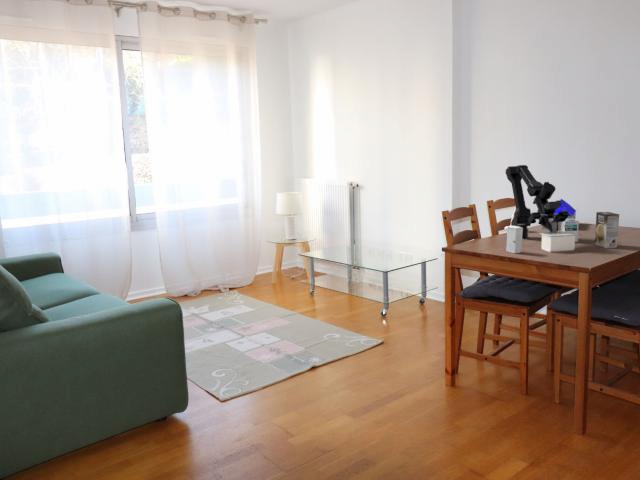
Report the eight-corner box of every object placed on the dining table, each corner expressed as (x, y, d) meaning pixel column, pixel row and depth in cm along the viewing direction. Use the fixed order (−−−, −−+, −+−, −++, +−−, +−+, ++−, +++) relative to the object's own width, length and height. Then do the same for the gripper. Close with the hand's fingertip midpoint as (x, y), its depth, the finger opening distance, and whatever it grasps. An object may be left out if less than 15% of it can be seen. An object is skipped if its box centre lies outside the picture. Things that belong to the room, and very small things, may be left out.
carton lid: (539, 233, 273) (540, 222, 272) (563, 232, 275) (564, 221, 274) (549, 236, 265) (549, 225, 264) (573, 235, 266) (574, 223, 265)
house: (547, 223, 351) (548, 197, 349) (575, 224, 344) (576, 198, 341) (541, 229, 330) (542, 202, 327) (571, 230, 322) (572, 202, 320)
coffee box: (594, 244, 279) (595, 212, 276) (606, 244, 279) (608, 211, 276) (604, 248, 270) (606, 214, 267) (617, 247, 270) (619, 213, 267)
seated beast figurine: (503, 230, 330) (503, 209, 328) (517, 229, 331) (518, 208, 328) (510, 232, 321) (510, 211, 318) (525, 232, 321) (525, 210, 319)
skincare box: (505, 251, 270) (506, 226, 268) (513, 250, 272) (513, 225, 270) (515, 253, 264) (515, 227, 262) (522, 252, 266) (523, 227, 264)
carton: (541, 249, 273) (541, 234, 271) (564, 247, 274) (565, 233, 273) (550, 252, 265) (550, 237, 264) (574, 250, 266) (574, 235, 265)
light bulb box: (578, 242, 286) (579, 221, 284) (564, 242, 288) (564, 221, 286) (573, 238, 297) (574, 218, 295) (559, 238, 298) (560, 218, 296)
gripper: (531, 195, 272) (543, 221, 263) (568, 194, 275) (580, 219, 266) (523, 210, 281) (533, 235, 272) (558, 208, 284) (570, 233, 275)
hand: (554, 231), depth 271 cm, fingers closed on carton lid, 2 cm apart
